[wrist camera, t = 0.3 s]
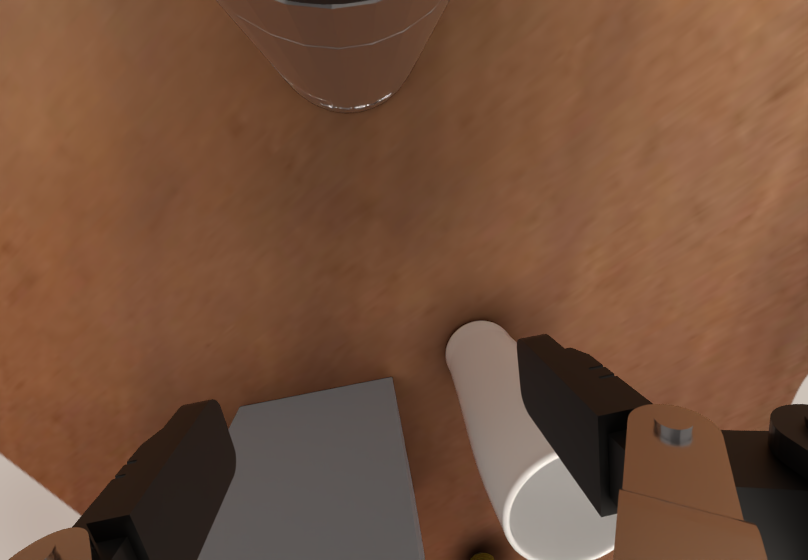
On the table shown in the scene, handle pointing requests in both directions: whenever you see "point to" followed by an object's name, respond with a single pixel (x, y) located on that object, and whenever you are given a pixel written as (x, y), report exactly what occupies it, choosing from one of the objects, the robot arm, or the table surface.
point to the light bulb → (482, 556)
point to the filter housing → (319, 480)
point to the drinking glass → (520, 454)
